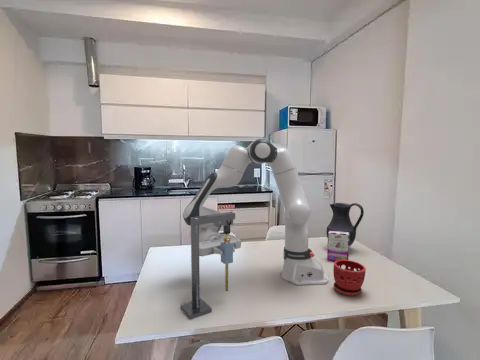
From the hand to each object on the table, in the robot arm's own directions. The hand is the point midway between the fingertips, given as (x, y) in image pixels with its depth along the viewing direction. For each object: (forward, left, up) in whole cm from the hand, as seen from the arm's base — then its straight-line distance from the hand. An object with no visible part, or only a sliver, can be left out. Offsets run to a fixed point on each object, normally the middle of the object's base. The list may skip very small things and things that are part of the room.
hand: (228, 251), depth 119 cm
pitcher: (-61, -67, -21) cm, 93 cm away
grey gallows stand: (+7, +4, -21) cm, 22 cm away
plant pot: (-51, -15, -21) cm, 58 cm away
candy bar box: (-54, -50, -21) cm, 77 cm away
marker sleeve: (+1, -1, -5) cm, 5 cm away
